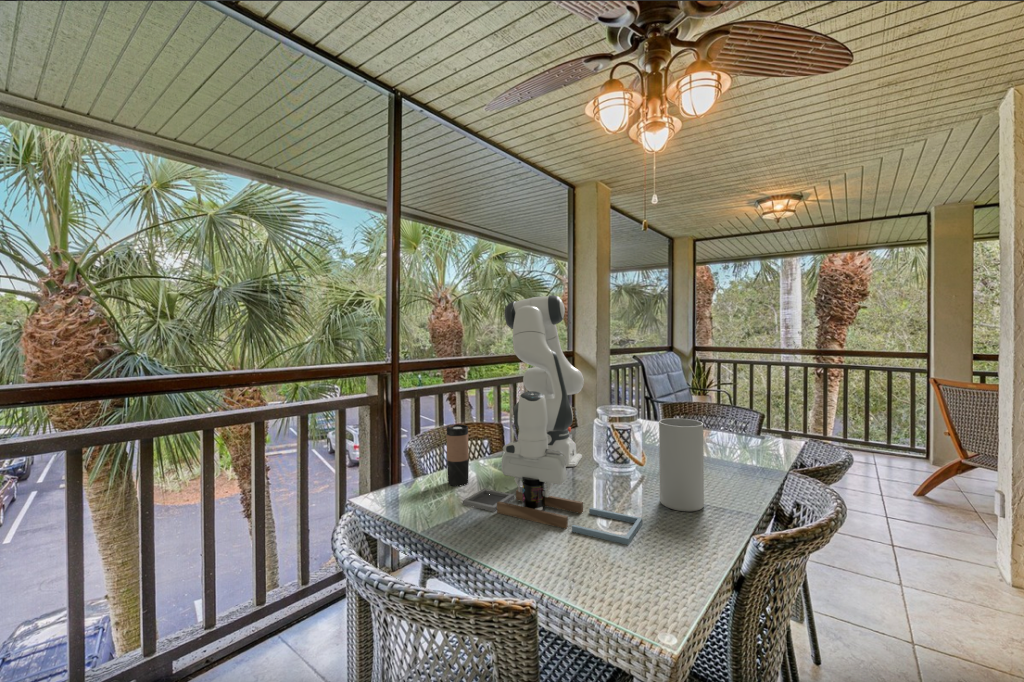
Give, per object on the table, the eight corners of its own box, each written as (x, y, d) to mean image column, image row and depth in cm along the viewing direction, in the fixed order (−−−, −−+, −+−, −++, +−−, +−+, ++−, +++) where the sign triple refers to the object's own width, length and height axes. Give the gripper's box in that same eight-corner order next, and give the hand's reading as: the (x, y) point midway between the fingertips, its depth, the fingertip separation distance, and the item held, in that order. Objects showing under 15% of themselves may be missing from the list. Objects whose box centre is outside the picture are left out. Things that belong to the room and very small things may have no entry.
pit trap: (484, 492, 145) (484, 488, 145) (514, 498, 139) (514, 494, 139) (462, 504, 135) (462, 500, 135) (494, 511, 129) (493, 507, 129)
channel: (517, 498, 139) (517, 489, 139) (583, 512, 128) (582, 502, 128) (497, 512, 128) (496, 502, 128) (566, 528, 117) (565, 517, 117)
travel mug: (467, 486, 150) (466, 429, 150) (445, 486, 151) (444, 429, 150) (470, 479, 158) (469, 424, 158) (449, 479, 158) (448, 424, 158)
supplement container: (536, 505, 134) (536, 471, 133) (550, 512, 128) (549, 477, 128) (518, 509, 130) (517, 475, 130) (530, 517, 124) (530, 481, 124)
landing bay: (590, 512, 127) (590, 507, 127) (642, 523, 120) (642, 517, 120) (571, 531, 115) (571, 526, 115) (628, 544, 108) (628, 538, 108)
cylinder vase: (708, 514, 125) (707, 427, 125) (662, 511, 128) (662, 426, 127) (698, 497, 137) (698, 418, 137) (657, 495, 140) (656, 417, 139)
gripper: (569, 449, 126) (570, 496, 126) (509, 441, 136) (510, 485, 137) (560, 454, 121) (561, 504, 121) (498, 445, 131) (499, 491, 131)
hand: (533, 494), depth 129 cm, fingers closed on supplement container, 7 cm apart
